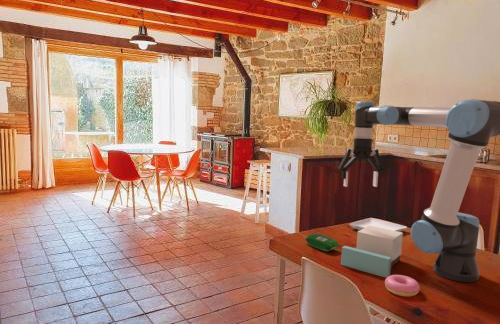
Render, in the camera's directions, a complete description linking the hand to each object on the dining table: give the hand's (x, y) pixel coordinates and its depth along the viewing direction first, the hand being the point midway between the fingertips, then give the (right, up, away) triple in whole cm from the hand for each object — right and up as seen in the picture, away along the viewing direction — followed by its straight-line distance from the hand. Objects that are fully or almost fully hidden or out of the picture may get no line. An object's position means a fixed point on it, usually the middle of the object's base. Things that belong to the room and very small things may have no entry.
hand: (360, 186), depth 170 cm
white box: (+3, -26, -13) cm, 30 cm away
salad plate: (+17, -25, +27) cm, 40 cm away
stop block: (-5, -30, -24) cm, 39 cm away
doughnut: (+2, -33, -40) cm, 52 cm away
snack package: (-17, -27, -1) cm, 32 cm away
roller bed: (+2, -29, -15) cm, 33 cm away
